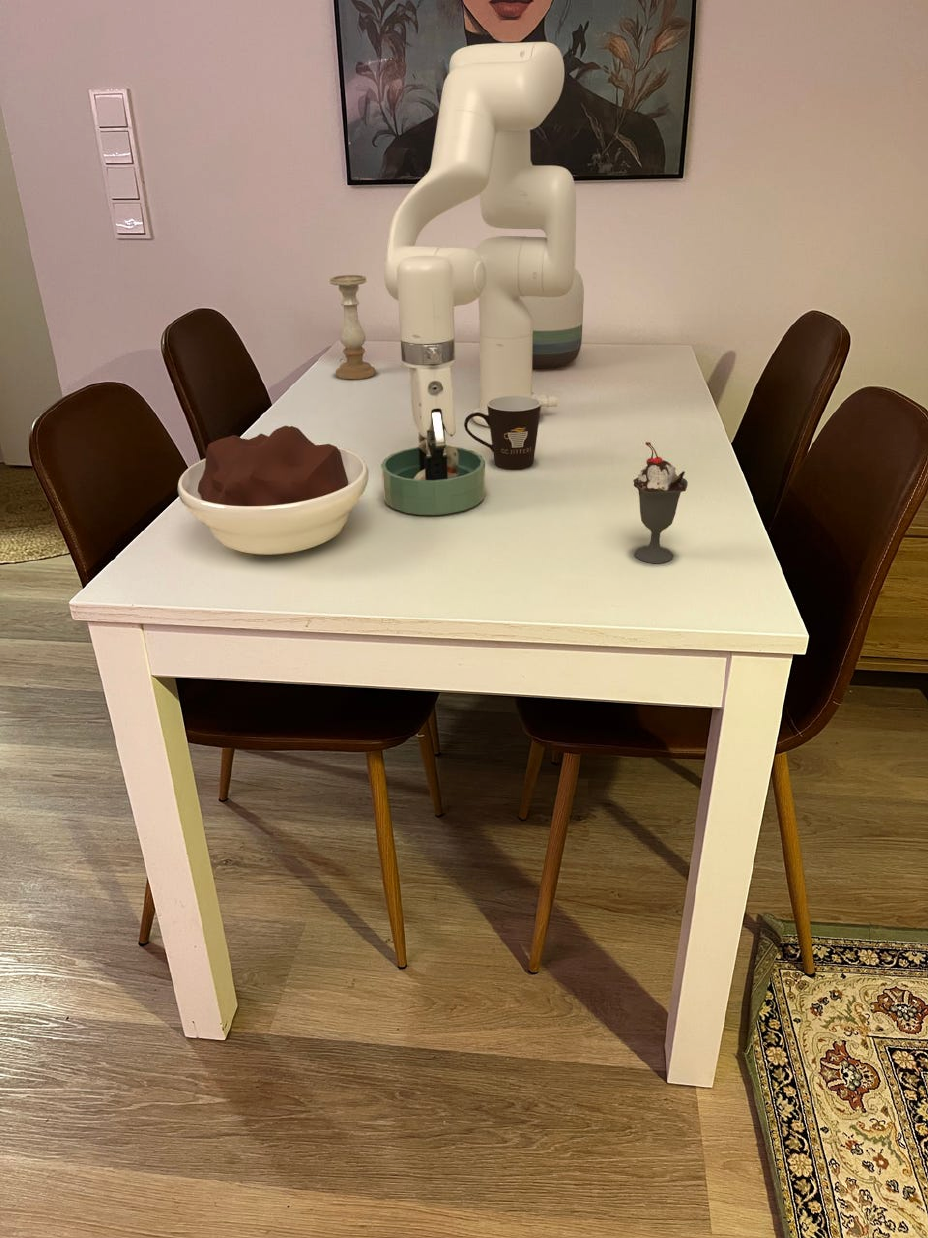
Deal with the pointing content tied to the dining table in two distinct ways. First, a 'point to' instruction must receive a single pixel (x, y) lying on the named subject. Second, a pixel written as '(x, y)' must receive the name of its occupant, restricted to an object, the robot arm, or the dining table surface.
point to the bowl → (432, 484)
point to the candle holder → (352, 330)
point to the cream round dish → (273, 491)
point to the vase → (556, 326)
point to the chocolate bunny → (451, 460)
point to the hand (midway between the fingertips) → (433, 474)
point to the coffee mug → (511, 430)
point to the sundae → (658, 504)
